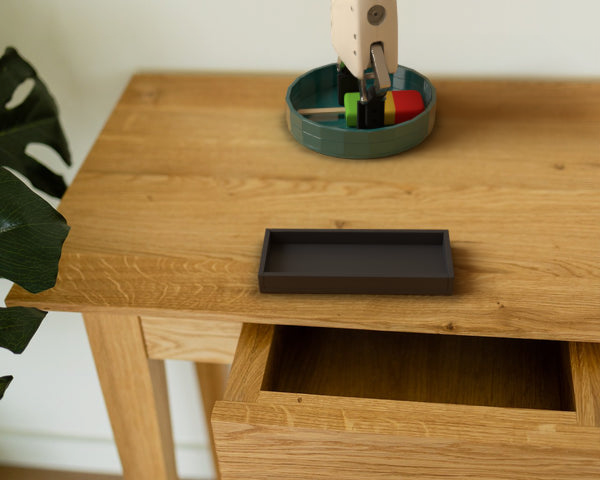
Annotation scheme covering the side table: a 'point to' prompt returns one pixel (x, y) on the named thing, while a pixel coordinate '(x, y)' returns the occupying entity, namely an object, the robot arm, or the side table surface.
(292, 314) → the side table surface
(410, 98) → the popsicle
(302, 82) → the bowl
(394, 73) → the robot arm
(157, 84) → the side table surface
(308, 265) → the tray
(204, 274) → the side table surface
